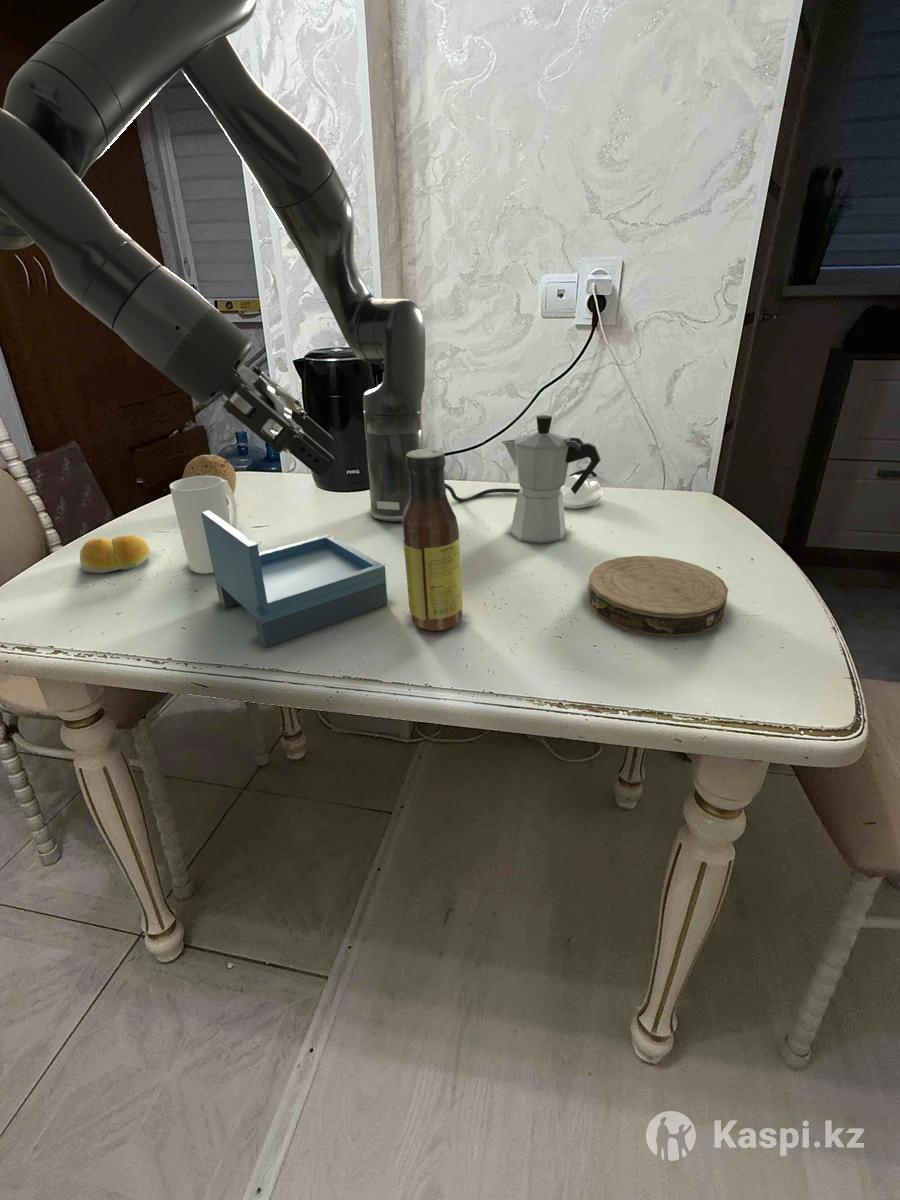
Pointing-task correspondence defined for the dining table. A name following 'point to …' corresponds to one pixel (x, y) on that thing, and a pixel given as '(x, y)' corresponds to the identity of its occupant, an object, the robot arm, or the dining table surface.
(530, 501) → the coffee maker
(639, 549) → the dining table surface
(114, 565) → the bread roll
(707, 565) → the dining table surface
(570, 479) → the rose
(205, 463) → the natural sponge
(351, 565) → the shelf
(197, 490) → the mug
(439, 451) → the sauce bottle
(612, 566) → the wood log slice
